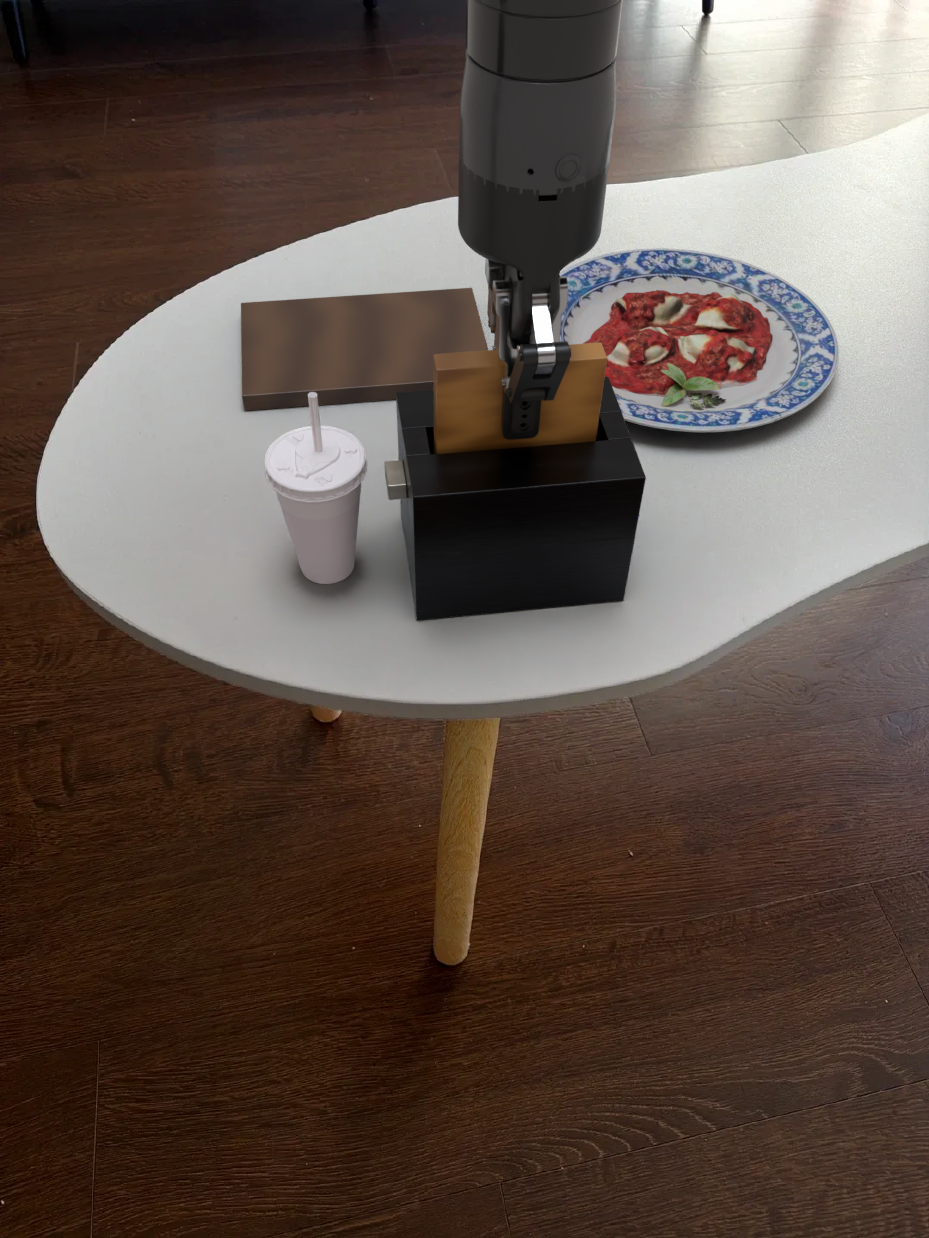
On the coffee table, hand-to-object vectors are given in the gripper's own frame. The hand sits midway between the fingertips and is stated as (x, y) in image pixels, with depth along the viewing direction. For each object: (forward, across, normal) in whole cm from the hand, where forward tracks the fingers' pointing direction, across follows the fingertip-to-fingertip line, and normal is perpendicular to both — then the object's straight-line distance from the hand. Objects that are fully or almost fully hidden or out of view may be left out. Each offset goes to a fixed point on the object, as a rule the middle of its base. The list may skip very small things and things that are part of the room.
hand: (516, 423), depth 67 cm
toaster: (+12, 0, 0) cm, 12 cm away
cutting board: (+12, -25, -8) cm, 29 cm away
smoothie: (+12, -1, -12) cm, 17 cm away
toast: (+5, 0, 0) cm, 5 cm away
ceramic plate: (+12, -22, +18) cm, 31 cm away
